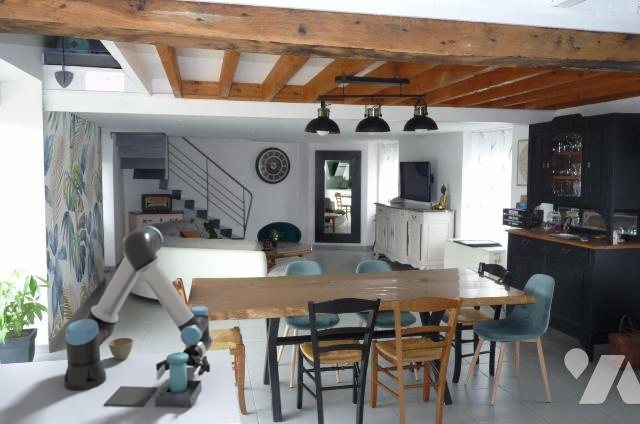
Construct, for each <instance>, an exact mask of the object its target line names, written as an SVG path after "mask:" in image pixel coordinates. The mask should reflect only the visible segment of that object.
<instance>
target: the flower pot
mask: <svg viewBox="0 0 640 424" xmlns="http://www.w3.org/2000/svg"><path fill="white" fill-rule="evenodd" d="M133 344H134V339H132V338H129V337H119V338H115V339H114V338H113V339H112V340H110V341H108V348H109V351H110V353H111V355H112V356H113V357H114V359H115V360H121V361H122V360H125V359H127V358H128V357H129V356H130V354H131V351H132V349H133V346H134V345H133Z"/></svg>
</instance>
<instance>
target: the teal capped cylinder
mask: <svg viewBox="0 0 640 424" xmlns="http://www.w3.org/2000/svg"><path fill="white" fill-rule="evenodd" d="M166 359H167V362H168V363H169V380H170V392H178V393H185V392H186V391H187V380H188V375H187V374H188V373H187V372H188V370H187V366H186V361H188V354H186V353H183V352H181V351H180V352H172V353H170V354H168V355H167V356H166Z"/></svg>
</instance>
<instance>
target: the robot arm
mask: <svg viewBox="0 0 640 424" xmlns="http://www.w3.org/2000/svg"><path fill="white" fill-rule="evenodd" d="M163 244H164V238H163V234H162V233H161V232H160V230H159V229H158V228H157V227H155V226H151V225H144V226H140V227H139V228H137V229H136V230H134V231H132V232H130V233H128V234H127V236H125V239H124V240H123V244H122V245H123V246H122V250H123V251H122V253H123V256H124V257H123V258H122V261H121V263H120V264H119V266H118V268H117V269H116V271H115V272H114V275H113V277H112V278H111V280H110V282H109V283H108V286H107V287H106V289H105V291H104V293H103V294H102V296H101V298H100V300H99V302H98V303H97V305H93V306H92V307H91V308H90V310H89V312H88V314H87V315H86V317H85V319H79V320H76V321H73V322H72V323H70V324H68V326H67V327H66V329H65V343H66V344H65V347H66V356H67V359H66V361H67V367H66V370H65V374H64V378H63V387H64V388H66V389H67V390H70V391H84V390H89V389H93V388H96V387H98V386H101V385H102V384H104V383H105V381H106V380H107V372H106V370H105V368H104V365H103V363H102V361H101V352H100V346H101V345H102V344H103V343H105V341H106V340H107V339H108V338H109V337H110V336H112V334H113V333H114V331H115V328H116V325H117V322H119V315H118V313H119V312H120V310H121V308H122V306H123V304H124V303H125V302H126V299H127V297H128V296H129V294H130V292H131V290H132V288H133V287H134V286H135V283H136V281H137V280H138V278H139V276H140V275H141V277H142V278H143V279H144V281H145V282H146V284H147V286H148V287H149V289H151V291H152V293H153V294H154V295H155V297H156V299H157V300H158V301H159V303H160V304H161V306H162V307H163V309H164V310H165V311H166V313H167V314H168V315H169V317H170V318H171V320H172V321H173V323H174V324H175V325H176V327H177V329H178V331H179V332H180V340H181V342H182V343H183V344H185V345H187V346H186V348H185V349H184V350H183V351H182V353H186V354H188V361H186V367H187V366H189V367H193V369H195V368H196V370H195V371H194V373H193V380H194V381H196V380H198V379H199V377H200V376H203V374H205V373H210V372H211V365H210V363H209V361H208V357H207V356H206V352H207V351H208V350H209V349H210V348H211V345H212V343H213V338H212V335H211V334H210V326H209V325H210V321H209V316H210V314H209V309H208V308H207V307H206V306H204V305H203V306H202V305H198V306H193V307H191V308H190V307H189V306H188V305H187V303H186V302H185V300H184V299H183V297H182V295H181V294H180V293H179V291H178V290H177V289H176V287H175V286H174V284H173V283H172V281H171V280H170V278H169V276H168V275H167V274H166V272H165V271H164V269H163V267H162V266H161V264H160V263H159V257H158V256H157V253H158V251H160V250H161V248H162V246H163ZM155 369H156V371H157V372H156V380H157V381H159V380H160V379H161V378H162V377H163V376H164V374H165V373H166V371H168V370H169V363H168V362H167V358H166V359H163V360H161V361H160V362H158V363H156V364H155Z"/></svg>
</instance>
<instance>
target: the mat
mask: <svg viewBox="0 0 640 424" xmlns="http://www.w3.org/2000/svg"><path fill="white" fill-rule="evenodd" d="M157 387H158V386H134V385H133V386H132V385H131V386H126V385H121V386H119V387H118V388H117V389H116V391H115V392H114V393H113V394H112V395H111V396H110V397H109V398H108V399H107V400H106V401H105V402H104V403H103V406H105V407H106V406H107V407H108V406H109V407H111V406H112V407H135V408H136V407H138V408H139V407H140V408H141V407H144V405H145V404H146V403H147V401H149V399H150V398H151V396H153V394H155V391H156V390H157V389H158V388H157Z"/></svg>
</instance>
